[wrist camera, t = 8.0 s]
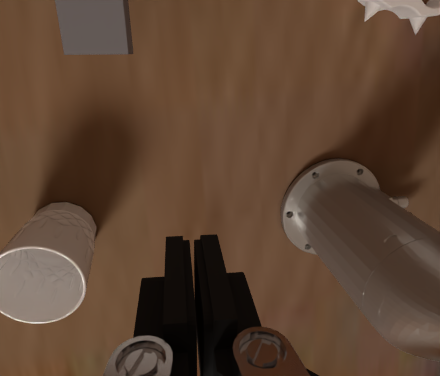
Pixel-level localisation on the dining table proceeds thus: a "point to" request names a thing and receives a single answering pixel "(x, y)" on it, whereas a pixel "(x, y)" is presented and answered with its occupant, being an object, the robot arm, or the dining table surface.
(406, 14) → the white compartment tray
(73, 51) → the tipping tray
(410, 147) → the dining table surface
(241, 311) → the robot arm
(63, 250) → the white cup
